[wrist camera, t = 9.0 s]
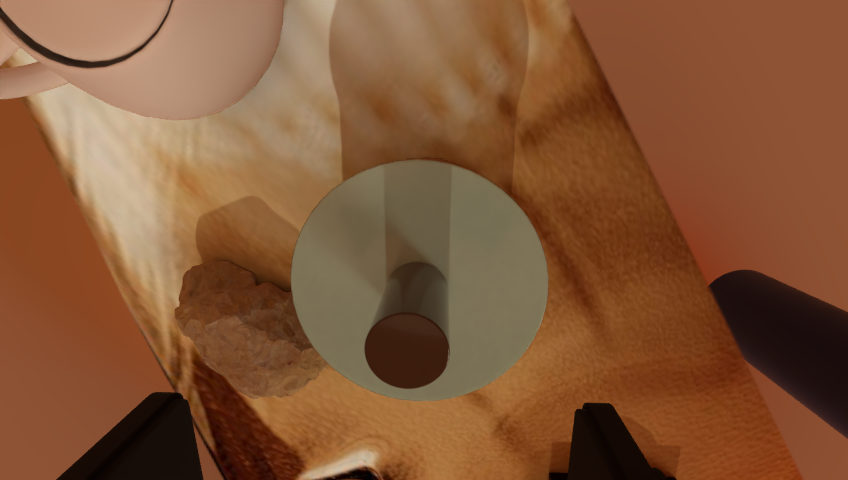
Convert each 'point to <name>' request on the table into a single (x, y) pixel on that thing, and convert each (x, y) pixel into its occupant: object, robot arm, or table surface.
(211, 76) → the teapot
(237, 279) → the stone tool
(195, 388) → the table surface
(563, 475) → the button block
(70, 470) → the robot arm
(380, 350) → the lid
